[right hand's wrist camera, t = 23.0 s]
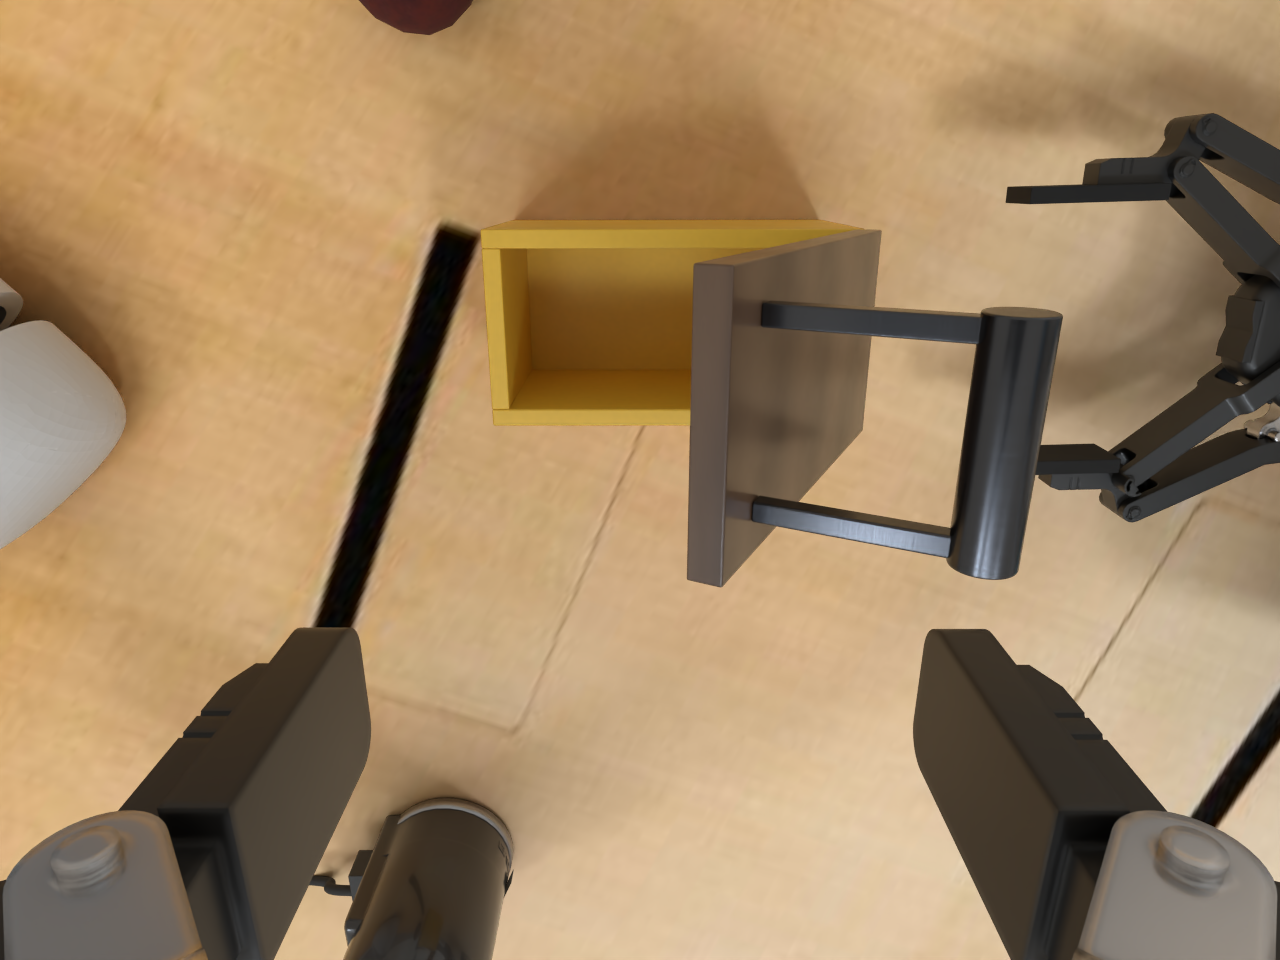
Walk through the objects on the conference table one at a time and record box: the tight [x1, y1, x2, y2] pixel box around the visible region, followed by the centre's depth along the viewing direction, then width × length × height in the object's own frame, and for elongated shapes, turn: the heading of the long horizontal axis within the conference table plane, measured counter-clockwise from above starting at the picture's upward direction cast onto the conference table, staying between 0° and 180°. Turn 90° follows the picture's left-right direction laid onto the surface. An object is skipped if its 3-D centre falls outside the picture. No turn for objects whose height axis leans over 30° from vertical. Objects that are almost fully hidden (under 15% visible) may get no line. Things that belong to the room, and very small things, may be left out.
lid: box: [687, 229, 1063, 587], centre depth 29 cm, size 18×9×9 cm
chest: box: [481, 220, 864, 426], centre depth 43 cm, size 18×9×10 cm, turn 90°
